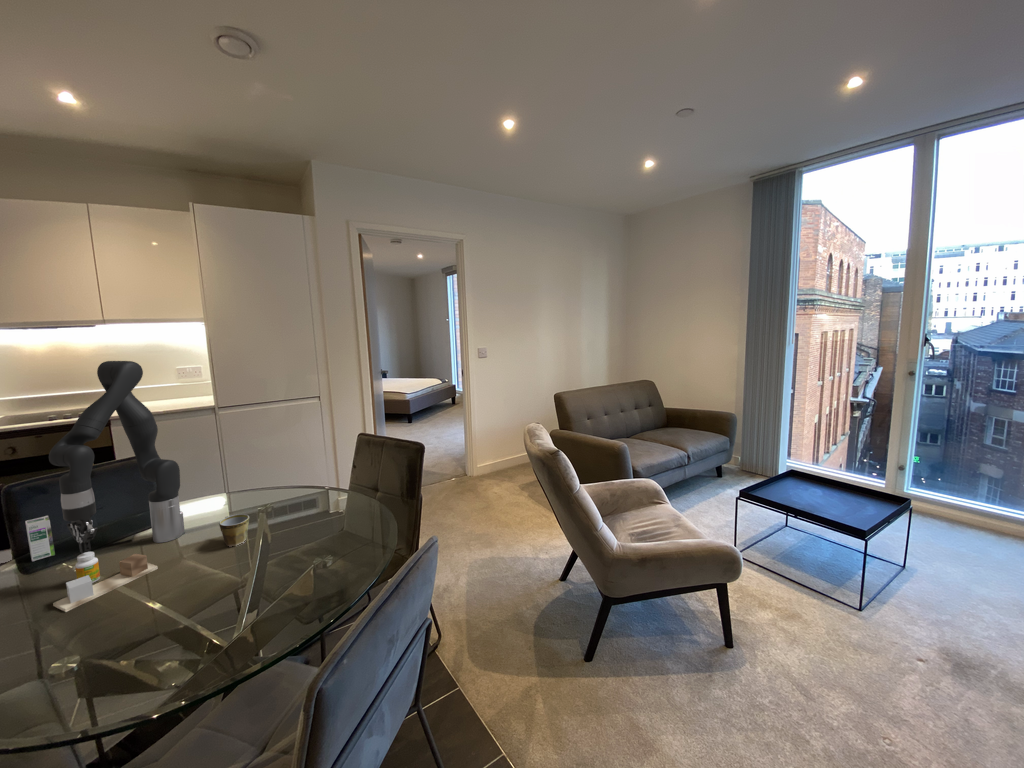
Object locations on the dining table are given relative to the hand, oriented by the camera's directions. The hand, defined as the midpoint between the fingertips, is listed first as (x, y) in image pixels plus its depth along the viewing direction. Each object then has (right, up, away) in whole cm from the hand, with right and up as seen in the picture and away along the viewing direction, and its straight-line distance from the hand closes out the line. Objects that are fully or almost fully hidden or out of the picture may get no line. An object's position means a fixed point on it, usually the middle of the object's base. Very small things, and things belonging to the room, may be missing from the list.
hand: (85, 551), depth 135 cm
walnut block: (+11, -9, +5) cm, 16 cm away
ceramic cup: (+31, -8, +28) cm, 43 cm away
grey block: (+7, -11, -8) cm, 15 cm away
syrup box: (-32, -8, +15) cm, 37 cm away
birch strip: (+9, -11, -1) cm, 14 cm away
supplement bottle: (0, -11, +1) cm, 11 cm away
